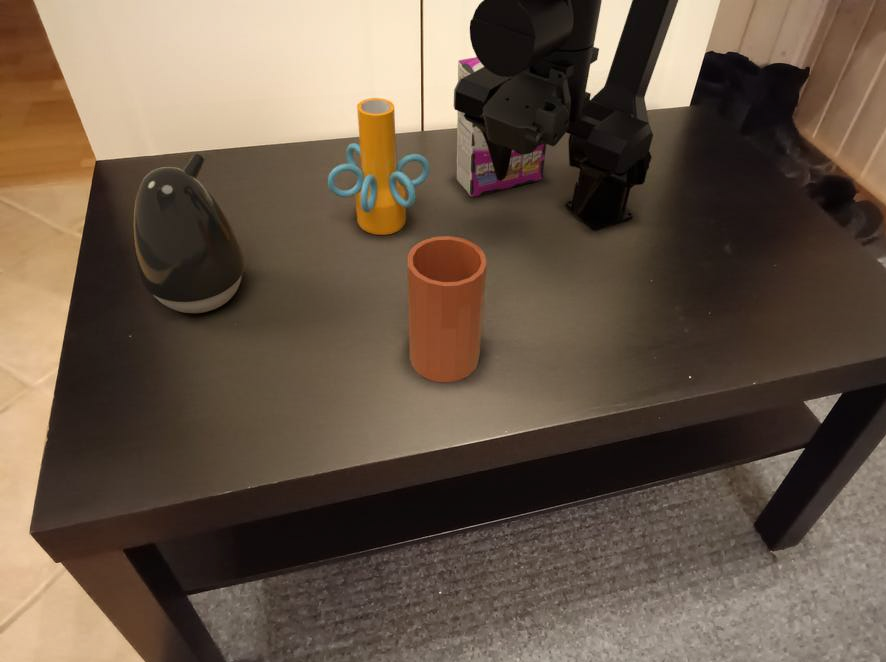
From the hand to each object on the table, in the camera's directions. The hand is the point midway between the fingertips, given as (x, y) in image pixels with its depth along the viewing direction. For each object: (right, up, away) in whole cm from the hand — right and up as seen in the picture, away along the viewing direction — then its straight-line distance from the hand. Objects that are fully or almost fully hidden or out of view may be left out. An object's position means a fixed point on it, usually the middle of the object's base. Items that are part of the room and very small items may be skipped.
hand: (538, 195), depth 71 cm
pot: (-10, -17, 0) cm, 19 cm away
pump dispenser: (-36, -10, +4) cm, 38 cm away
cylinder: (-18, 0, +15) cm, 24 cm away
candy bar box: (-4, +7, +23) cm, 25 cm away
